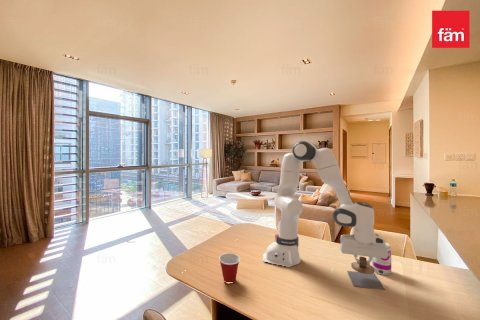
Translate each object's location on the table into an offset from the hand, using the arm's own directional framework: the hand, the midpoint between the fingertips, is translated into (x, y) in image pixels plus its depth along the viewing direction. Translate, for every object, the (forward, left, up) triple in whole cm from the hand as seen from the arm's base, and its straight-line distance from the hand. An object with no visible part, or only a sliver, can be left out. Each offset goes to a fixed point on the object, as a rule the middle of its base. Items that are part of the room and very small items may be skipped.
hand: (362, 264), depth 106 cm
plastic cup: (-64, -13, -9) cm, 66 cm away
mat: (+1, +1, -8) cm, 8 cm away
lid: (0, 0, -2) cm, 2 cm away
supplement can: (+12, +11, -9) cm, 18 cm away
